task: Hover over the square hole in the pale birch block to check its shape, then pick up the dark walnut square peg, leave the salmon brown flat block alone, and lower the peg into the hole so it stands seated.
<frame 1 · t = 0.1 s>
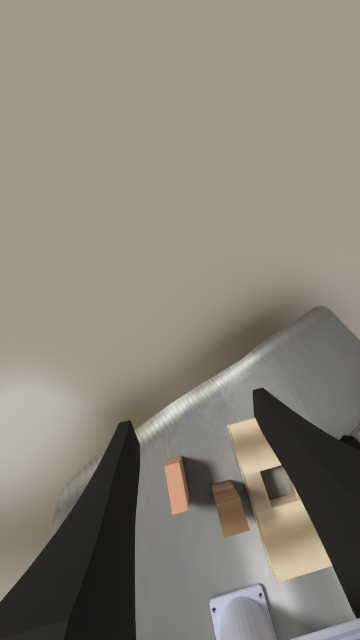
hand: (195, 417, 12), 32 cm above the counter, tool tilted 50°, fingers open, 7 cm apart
socket block: (273, 480, 36), on the counter
walnut peg: (223, 494, 35), on the counter
salmon brown flat block: (178, 477, 37), on the counter
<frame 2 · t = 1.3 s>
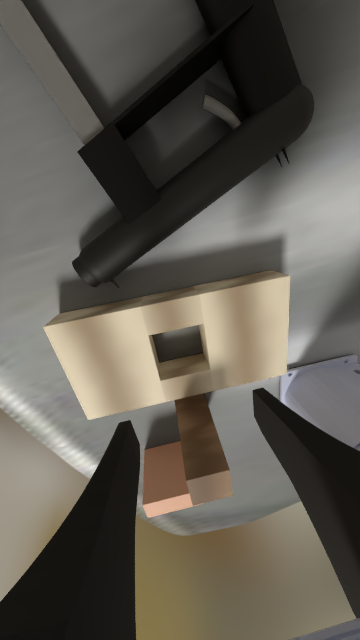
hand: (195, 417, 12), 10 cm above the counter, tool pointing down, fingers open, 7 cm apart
socket block: (177, 338, 21), on the counter
walnut peg: (190, 403, 25), on the counter
door handle: (142, 128, 15), on the counter
salmon brown flat block: (169, 450, 27), on the counter
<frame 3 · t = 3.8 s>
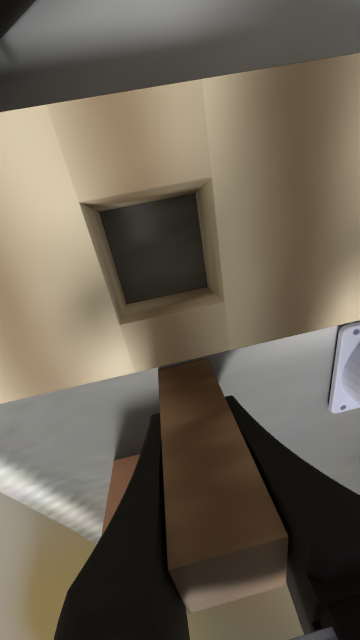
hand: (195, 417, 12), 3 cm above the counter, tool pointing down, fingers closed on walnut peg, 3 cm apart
socket block: (158, 252, 11), on the counter
walnut peg: (186, 384, 15), on the counter, touching gripper
salmon brown flat block: (154, 460, 17), on the counter
when the fingers open (4 cm above the counter, at t = 7.3 s): walnut peg drops 1 cm, resting in socket block.
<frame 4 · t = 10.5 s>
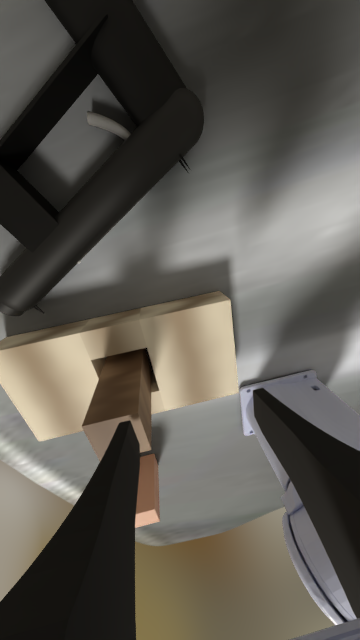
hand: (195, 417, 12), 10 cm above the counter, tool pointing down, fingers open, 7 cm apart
socket block: (130, 358, 21), on the counter
walnut peg: (131, 360, 21), resting in socket block
door handle: (39, 151, 15), on the counter
salmon brown flat block: (133, 464, 27), on the counter
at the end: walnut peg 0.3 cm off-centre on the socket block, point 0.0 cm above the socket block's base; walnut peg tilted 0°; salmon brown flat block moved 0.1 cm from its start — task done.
